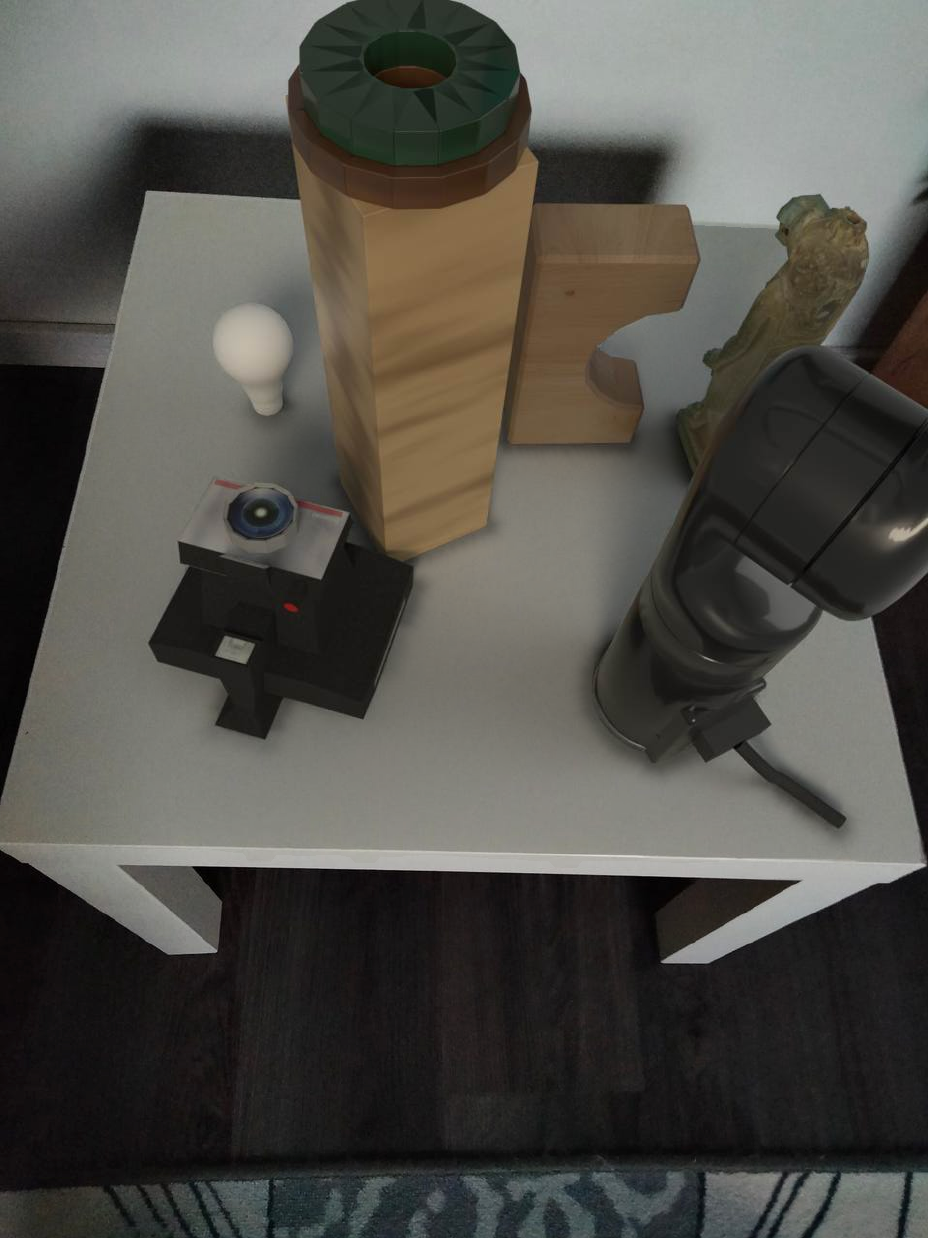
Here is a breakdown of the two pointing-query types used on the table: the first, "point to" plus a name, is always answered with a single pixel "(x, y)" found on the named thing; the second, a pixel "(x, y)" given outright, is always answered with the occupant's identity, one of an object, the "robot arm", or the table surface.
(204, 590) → the camera
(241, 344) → the lightbulb
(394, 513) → the ring stack
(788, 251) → the statue
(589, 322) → the decorative block
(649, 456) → the table surface
